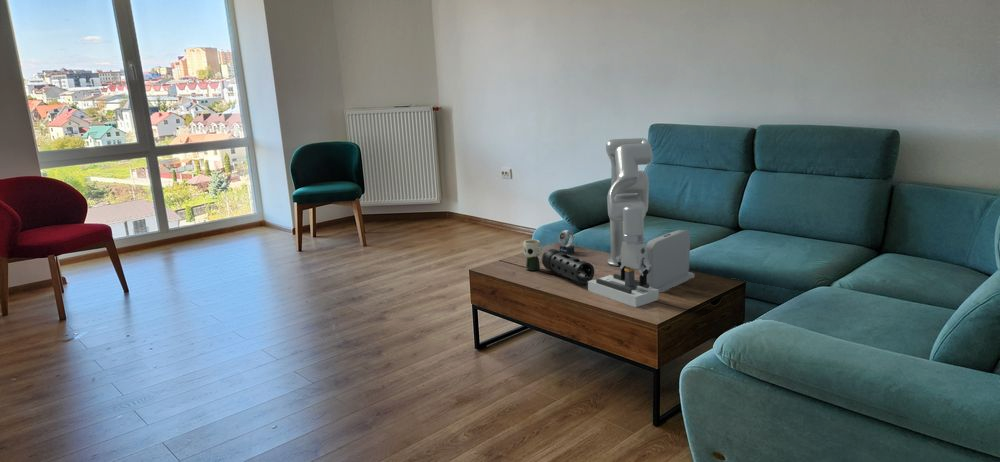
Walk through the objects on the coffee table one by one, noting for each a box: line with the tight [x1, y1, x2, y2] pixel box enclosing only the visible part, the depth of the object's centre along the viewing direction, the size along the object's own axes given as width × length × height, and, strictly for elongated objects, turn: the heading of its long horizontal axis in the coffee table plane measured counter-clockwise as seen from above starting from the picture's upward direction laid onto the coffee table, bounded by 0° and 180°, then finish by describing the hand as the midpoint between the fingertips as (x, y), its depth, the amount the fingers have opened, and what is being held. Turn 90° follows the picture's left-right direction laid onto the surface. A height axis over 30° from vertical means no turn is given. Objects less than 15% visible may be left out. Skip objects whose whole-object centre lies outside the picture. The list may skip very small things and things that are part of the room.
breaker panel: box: [587, 274, 659, 308], centre depth 256 cm, size 12×26×4 cm, turn 34°
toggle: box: [622, 267, 637, 289], centre depth 251 cm, size 4×4×8 cm
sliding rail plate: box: [595, 273, 649, 294], centre depth 255 cm, size 10×18×2 cm, turn 34°
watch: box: [557, 229, 575, 255], centre depth 320 cm, size 6×8×11 cm
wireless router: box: [646, 229, 696, 294], centre depth 267 cm, size 31×10×20 cm, turn 134°
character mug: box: [522, 239, 542, 271], centre depth 295 cm, size 11×7×13 cm, turn 42°
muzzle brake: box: [541, 248, 595, 286], centre depth 281 cm, size 10×28×10 cm, turn 27°
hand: (633, 282), depth 250 cm, fingers open, 9 cm apart
